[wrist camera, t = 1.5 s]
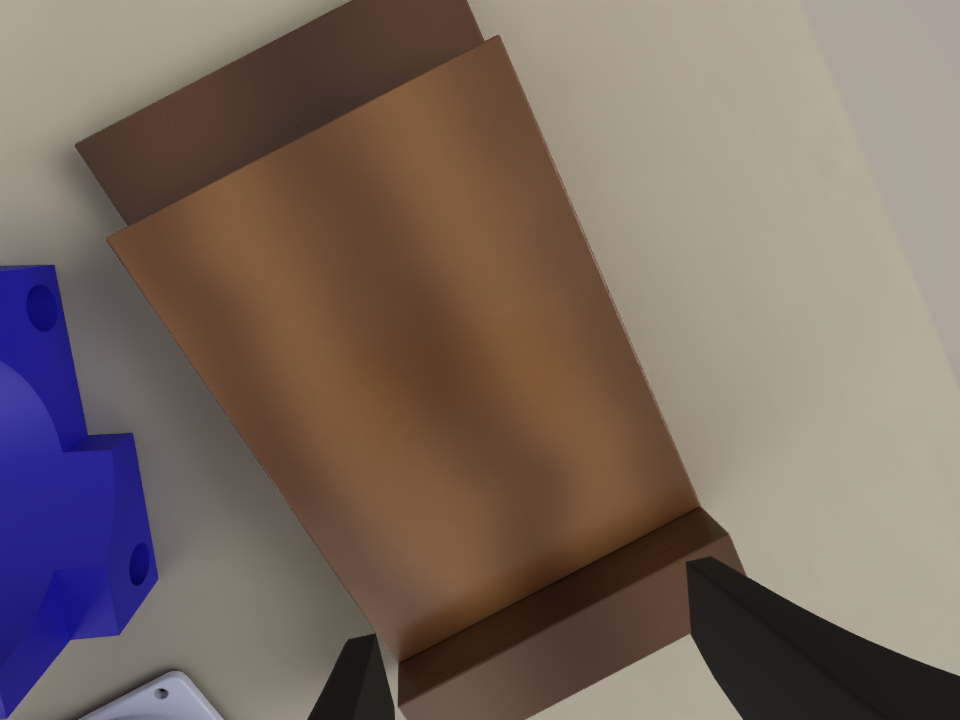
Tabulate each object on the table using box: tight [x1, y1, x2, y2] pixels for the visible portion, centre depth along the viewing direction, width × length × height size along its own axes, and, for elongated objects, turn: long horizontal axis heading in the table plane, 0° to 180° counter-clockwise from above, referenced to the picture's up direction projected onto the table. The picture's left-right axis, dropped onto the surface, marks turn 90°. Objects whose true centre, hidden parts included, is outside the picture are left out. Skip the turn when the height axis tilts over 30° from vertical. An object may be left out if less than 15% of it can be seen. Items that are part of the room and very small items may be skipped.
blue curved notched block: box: [0, 265, 158, 719], centre depth 17 cm, size 12×4×6 cm, turn 1°
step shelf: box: [75, 0, 747, 720], centre depth 18 cm, size 12×23×5 cm, turn 27°
